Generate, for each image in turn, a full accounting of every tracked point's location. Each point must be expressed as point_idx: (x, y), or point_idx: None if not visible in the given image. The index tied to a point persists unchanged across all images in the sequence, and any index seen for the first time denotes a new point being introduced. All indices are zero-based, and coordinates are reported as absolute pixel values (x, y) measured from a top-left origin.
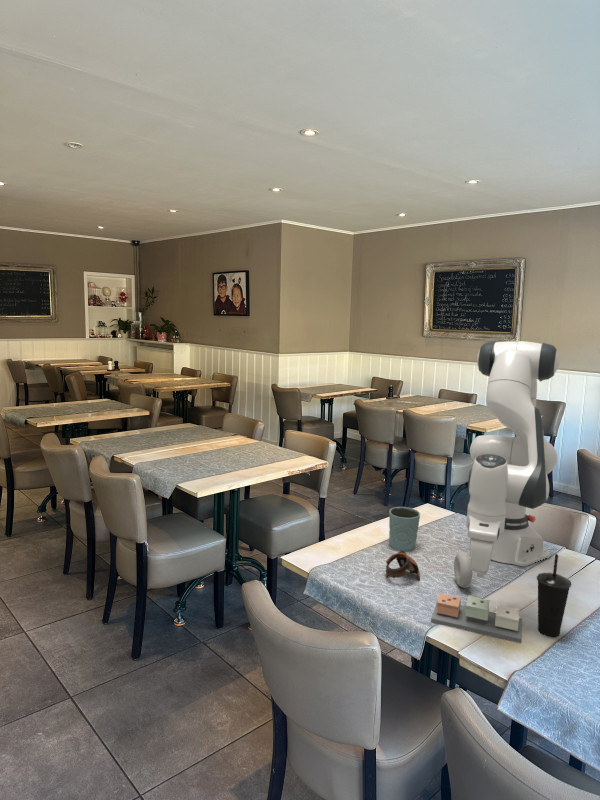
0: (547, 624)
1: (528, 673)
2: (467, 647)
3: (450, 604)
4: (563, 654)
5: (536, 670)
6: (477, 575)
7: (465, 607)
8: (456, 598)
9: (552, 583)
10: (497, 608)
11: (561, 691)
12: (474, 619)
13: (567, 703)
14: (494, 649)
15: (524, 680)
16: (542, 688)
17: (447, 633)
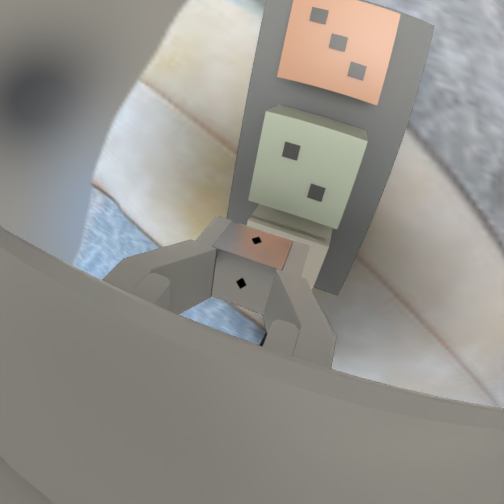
0: (262, 339)
1: (118, 225)
2: (158, 98)
3: (291, 42)
4: (210, 315)
5: (134, 243)
6: (216, 222)
7: (394, 127)
8: (362, 80)
9: None
10: (302, 240)
11: (100, 262)
12: None
13: (81, 258)
14: (173, 171)
15: (97, 211)
16: (92, 235)
17: (214, 39)
